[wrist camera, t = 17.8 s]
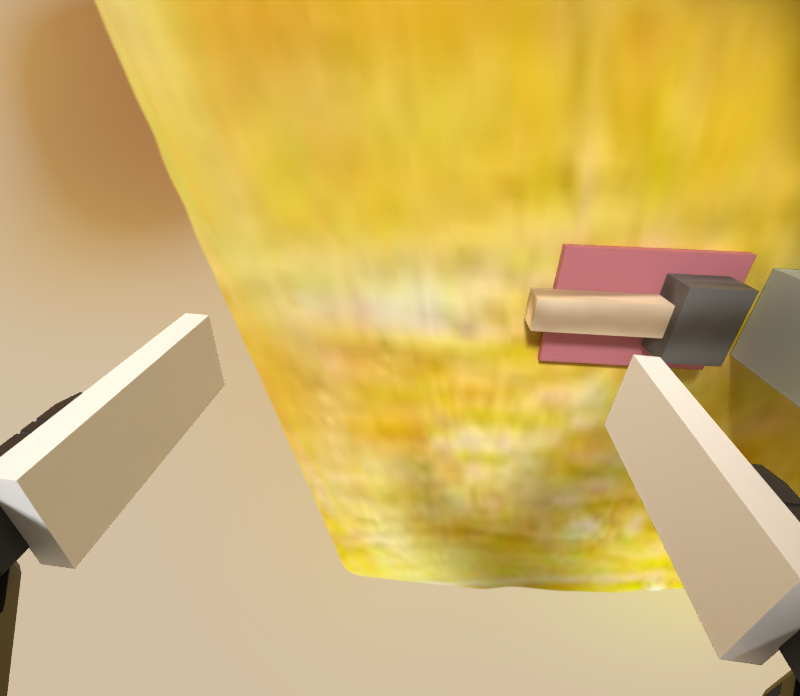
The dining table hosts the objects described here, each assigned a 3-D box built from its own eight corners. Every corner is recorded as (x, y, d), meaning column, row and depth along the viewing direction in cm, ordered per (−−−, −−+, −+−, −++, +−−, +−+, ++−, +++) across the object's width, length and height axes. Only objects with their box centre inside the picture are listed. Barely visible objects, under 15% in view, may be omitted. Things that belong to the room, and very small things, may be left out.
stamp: (535, 266, 40) (545, 280, 37) (729, 276, 39) (758, 291, 36) (520, 336, 44) (528, 355, 41) (697, 347, 43) (720, 366, 40)
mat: (563, 244, 40) (566, 246, 39) (749, 252, 39) (756, 255, 38) (537, 356, 46) (539, 360, 45) (697, 365, 46) (702, 369, 45)
